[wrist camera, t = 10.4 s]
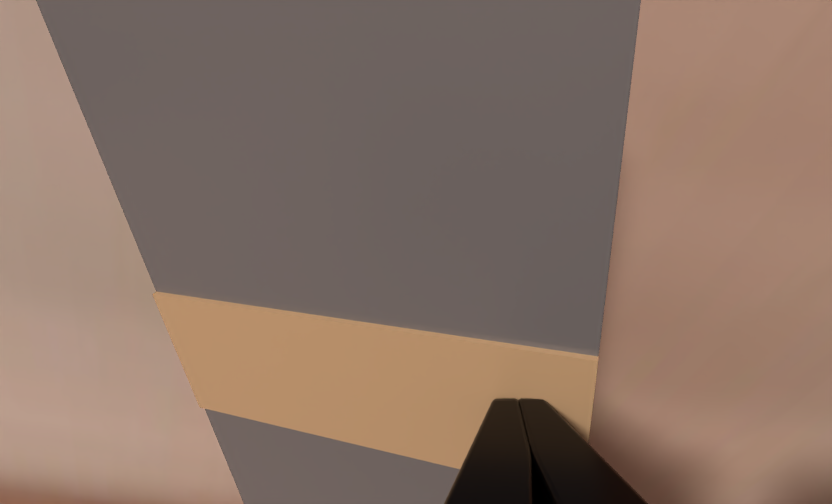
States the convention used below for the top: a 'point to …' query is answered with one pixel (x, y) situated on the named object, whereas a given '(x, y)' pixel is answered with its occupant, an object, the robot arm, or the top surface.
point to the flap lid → (363, 216)
